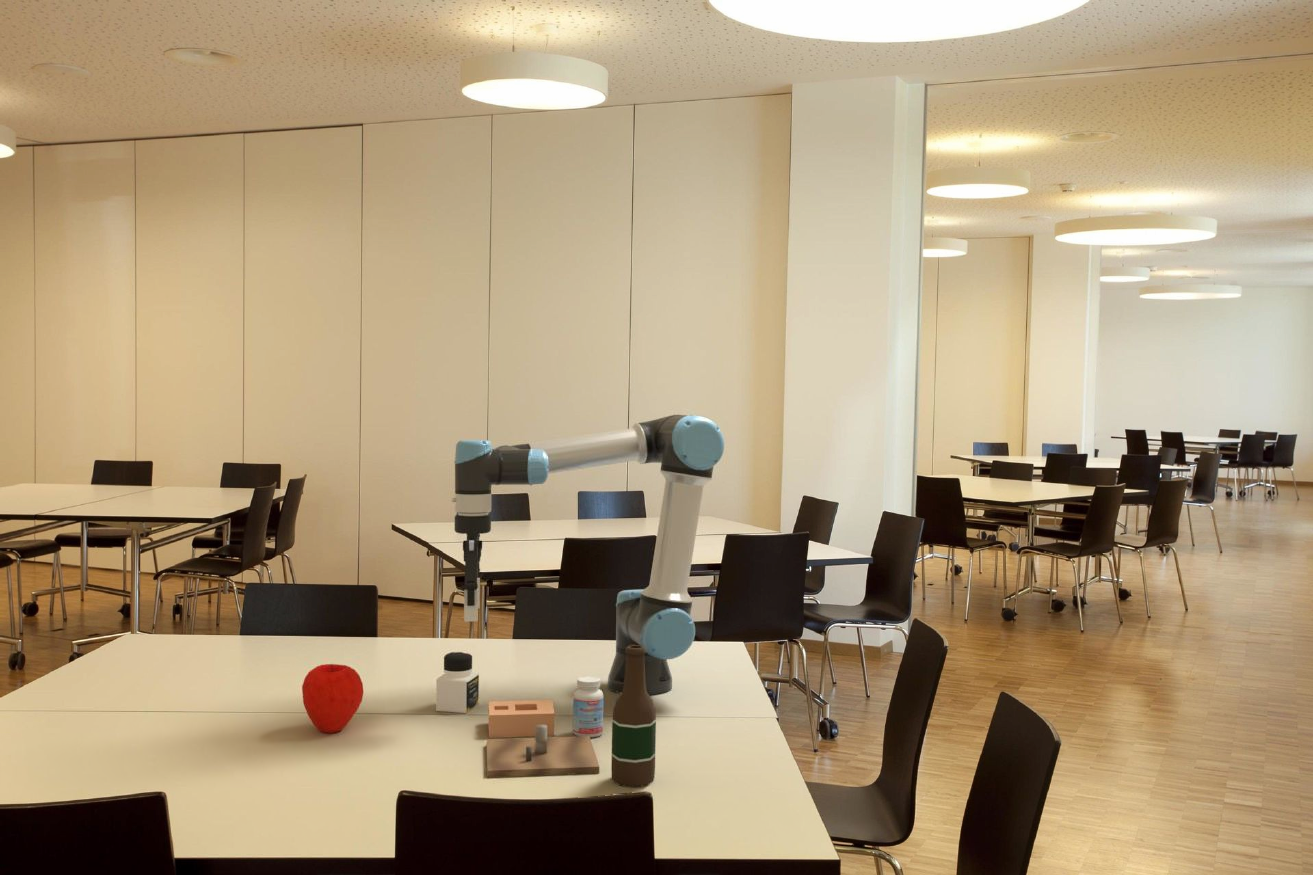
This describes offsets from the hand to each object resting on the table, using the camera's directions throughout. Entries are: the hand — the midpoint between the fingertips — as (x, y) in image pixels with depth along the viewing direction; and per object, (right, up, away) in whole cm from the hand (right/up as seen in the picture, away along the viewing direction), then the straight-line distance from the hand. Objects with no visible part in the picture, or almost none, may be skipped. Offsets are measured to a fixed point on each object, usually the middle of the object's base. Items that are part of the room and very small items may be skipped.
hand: (472, 614), depth 232 cm
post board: (+17, -23, -25) cm, 38 cm away
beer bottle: (+35, -24, -35) cm, 55 cm away
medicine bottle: (-5, -22, +8) cm, 24 cm away
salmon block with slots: (+12, -22, -6) cm, 26 cm away
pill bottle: (+25, -23, -9) cm, 35 cm away
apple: (-27, -22, -9) cm, 36 cm away
